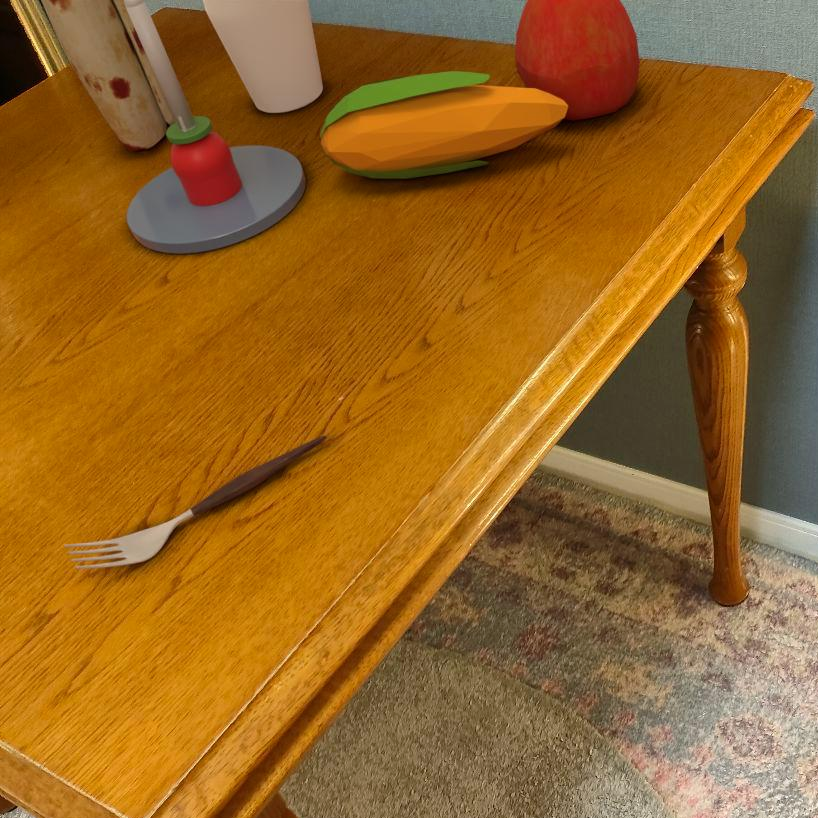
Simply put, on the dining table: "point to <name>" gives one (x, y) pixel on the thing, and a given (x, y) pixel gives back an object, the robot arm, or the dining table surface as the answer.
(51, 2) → the food model
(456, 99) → the corn
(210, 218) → the plate
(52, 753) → the dining table surface
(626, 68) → the apple
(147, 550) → the fork
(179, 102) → the strawberry fork
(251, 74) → the cup
